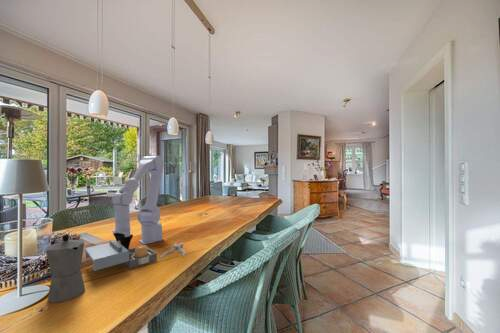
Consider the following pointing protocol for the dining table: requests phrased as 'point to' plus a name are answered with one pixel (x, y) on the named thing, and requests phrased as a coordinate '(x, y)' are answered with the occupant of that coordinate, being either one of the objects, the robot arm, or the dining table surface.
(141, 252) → the jaw seated
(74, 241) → the coffeepot
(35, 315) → the dining table surface
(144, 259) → the housing
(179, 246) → the hammer
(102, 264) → the lid
